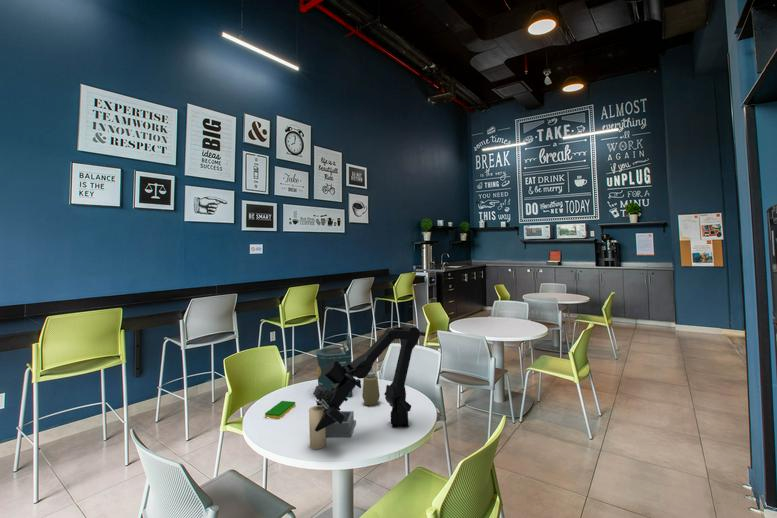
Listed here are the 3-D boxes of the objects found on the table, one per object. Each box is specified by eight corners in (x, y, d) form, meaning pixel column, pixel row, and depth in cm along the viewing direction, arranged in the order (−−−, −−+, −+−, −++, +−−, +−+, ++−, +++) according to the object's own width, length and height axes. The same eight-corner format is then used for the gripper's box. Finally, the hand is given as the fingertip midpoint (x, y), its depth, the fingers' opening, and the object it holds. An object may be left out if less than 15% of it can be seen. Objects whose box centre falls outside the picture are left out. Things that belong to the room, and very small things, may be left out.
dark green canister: (352, 397, 172) (351, 339, 172) (318, 401, 169) (316, 341, 169) (348, 385, 188) (347, 332, 188) (317, 389, 184) (315, 334, 184)
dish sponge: (295, 406, 164) (295, 401, 164) (279, 420, 150) (279, 414, 150) (281, 405, 165) (281, 400, 165) (264, 419, 152) (264, 413, 152)
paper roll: (327, 440, 131) (326, 405, 131) (323, 449, 125) (322, 411, 125) (312, 440, 131) (311, 405, 131) (308, 449, 126) (306, 411, 126)
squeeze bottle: (364, 408, 159) (363, 367, 159) (360, 401, 167) (359, 362, 167) (381, 405, 161) (380, 366, 161) (377, 399, 169) (376, 361, 169)
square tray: (356, 422, 146) (355, 410, 146) (351, 437, 134) (350, 424, 134) (326, 422, 146) (326, 410, 146) (319, 437, 134) (319, 423, 134)
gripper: (319, 370, 138) (291, 405, 133) (334, 385, 122) (303, 425, 117) (339, 387, 142) (313, 421, 137) (357, 404, 125) (327, 443, 120)
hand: (313, 427), depth 128 cm, fingers closed on paper roll, 6 cm apart
